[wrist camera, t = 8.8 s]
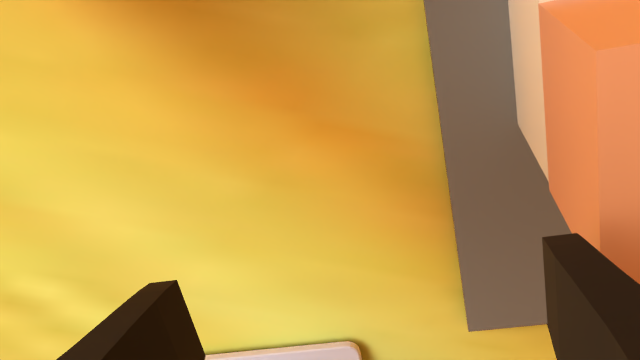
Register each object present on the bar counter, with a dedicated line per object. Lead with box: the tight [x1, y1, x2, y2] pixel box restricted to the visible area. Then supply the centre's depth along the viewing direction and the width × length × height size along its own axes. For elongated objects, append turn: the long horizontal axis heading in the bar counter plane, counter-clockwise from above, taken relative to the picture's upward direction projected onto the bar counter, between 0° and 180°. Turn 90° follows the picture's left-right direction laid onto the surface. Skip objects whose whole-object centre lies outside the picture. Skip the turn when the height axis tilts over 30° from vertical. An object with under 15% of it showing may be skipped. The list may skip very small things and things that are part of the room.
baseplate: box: [424, 0, 572, 332], centre depth 21 cm, size 14×9×1 cm, turn 12°
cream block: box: [508, 0, 554, 182], centre depth 17 cm, size 5×4×4 cm
